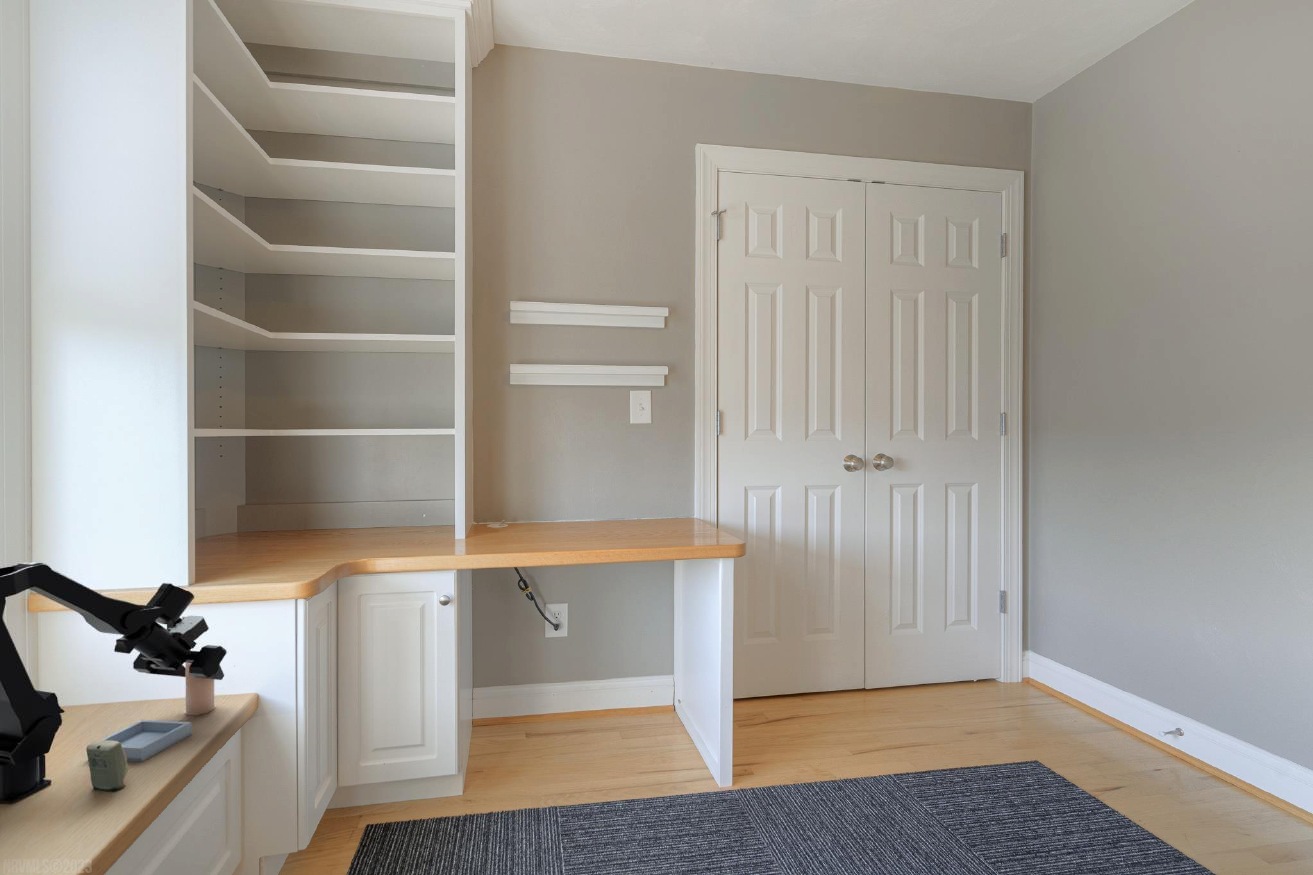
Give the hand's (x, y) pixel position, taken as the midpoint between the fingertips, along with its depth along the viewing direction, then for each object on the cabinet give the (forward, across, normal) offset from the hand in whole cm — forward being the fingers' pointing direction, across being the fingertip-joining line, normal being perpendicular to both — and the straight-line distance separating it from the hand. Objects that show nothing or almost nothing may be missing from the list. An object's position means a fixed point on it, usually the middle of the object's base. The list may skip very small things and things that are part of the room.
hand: (204, 676), depth 143 cm
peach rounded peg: (+4, 0, +6) cm, 7 cm away
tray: (-7, -4, +17) cm, 19 cm away
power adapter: (-16, -12, +27) cm, 34 cm away
